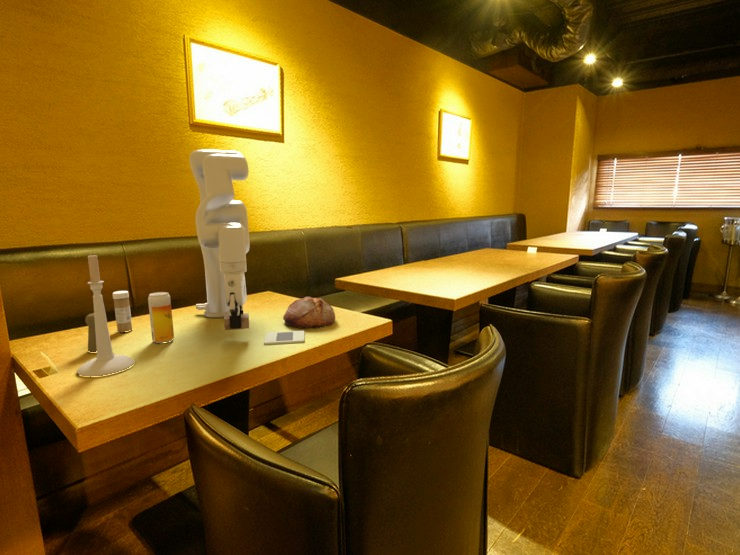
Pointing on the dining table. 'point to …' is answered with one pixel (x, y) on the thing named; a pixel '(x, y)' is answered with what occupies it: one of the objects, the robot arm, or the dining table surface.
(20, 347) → the dining table surface
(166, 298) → the beer can
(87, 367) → the candlestick
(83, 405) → the dining table surface
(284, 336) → the mat
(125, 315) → the sprinkles bottle
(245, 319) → the brown rectangular block
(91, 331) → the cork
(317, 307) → the bread
